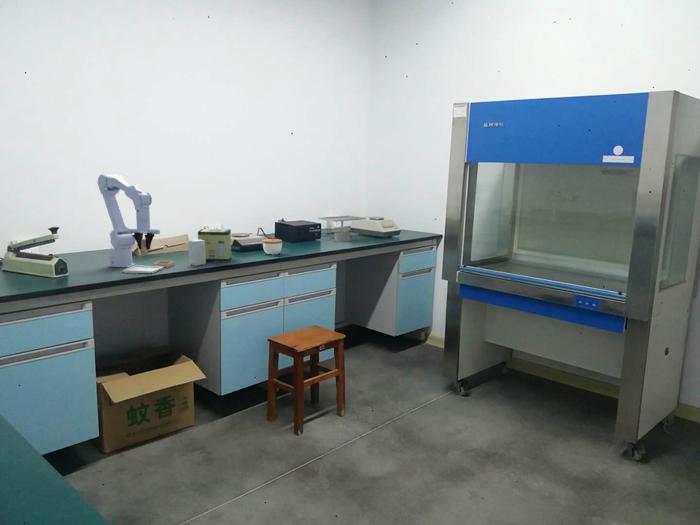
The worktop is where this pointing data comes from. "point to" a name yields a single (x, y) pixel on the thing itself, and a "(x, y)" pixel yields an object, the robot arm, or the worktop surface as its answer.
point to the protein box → (216, 244)
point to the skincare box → (197, 252)
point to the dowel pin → (143, 247)
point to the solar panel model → (342, 235)
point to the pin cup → (164, 263)
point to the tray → (142, 269)
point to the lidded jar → (272, 246)
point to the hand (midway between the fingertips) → (144, 249)
